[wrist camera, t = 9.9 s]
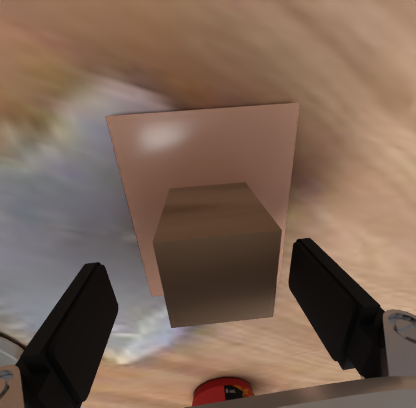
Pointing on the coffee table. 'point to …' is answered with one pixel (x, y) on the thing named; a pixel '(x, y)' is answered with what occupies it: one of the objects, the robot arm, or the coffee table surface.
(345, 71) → the coffee table surface
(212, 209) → the walnut block
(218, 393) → the canned food
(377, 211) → the coffee table surface
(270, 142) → the terracotta tile
